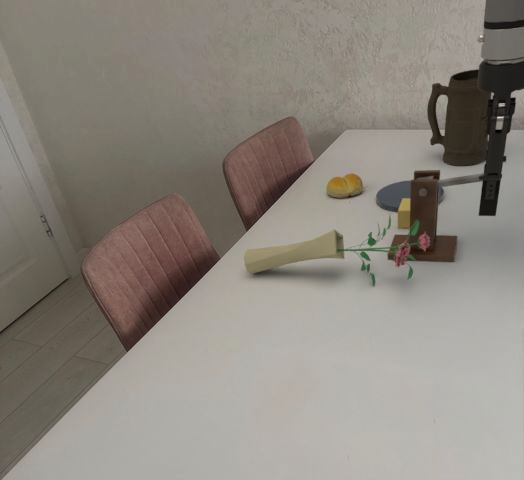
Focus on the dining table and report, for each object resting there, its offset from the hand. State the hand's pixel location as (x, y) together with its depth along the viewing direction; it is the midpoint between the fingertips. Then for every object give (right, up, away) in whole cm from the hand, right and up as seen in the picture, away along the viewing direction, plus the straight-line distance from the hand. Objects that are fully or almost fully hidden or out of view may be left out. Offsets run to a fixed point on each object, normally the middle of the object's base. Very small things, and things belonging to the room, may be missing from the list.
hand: (487, 207), depth 87 cm
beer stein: (+10, +25, +42) cm, 50 cm away
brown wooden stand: (-8, -6, +10) cm, 14 cm away
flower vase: (-26, -11, +8) cm, 29 cm away
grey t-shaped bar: (-6, +3, 0) cm, 7 cm away
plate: (-5, +10, +28) cm, 31 cm away
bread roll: (-19, +14, +37) cm, 44 cm away
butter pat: (-8, +2, +19) cm, 21 cm away
